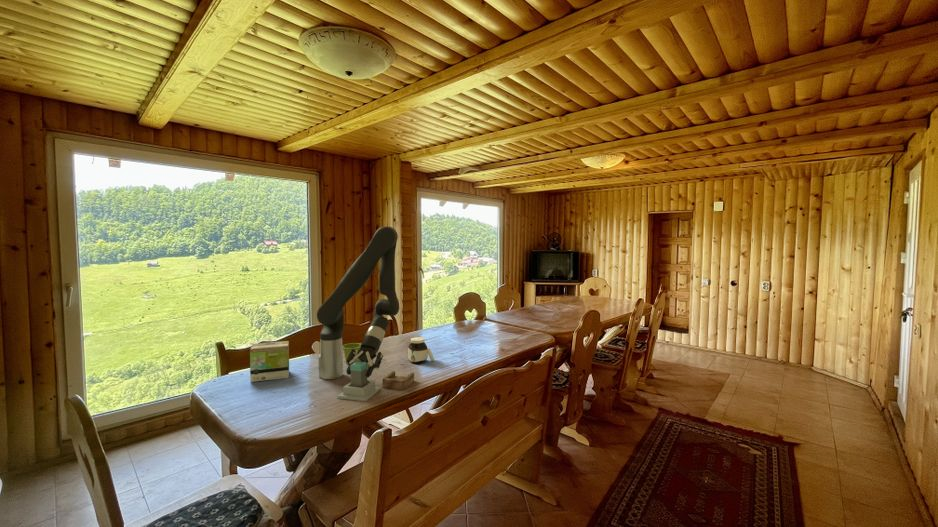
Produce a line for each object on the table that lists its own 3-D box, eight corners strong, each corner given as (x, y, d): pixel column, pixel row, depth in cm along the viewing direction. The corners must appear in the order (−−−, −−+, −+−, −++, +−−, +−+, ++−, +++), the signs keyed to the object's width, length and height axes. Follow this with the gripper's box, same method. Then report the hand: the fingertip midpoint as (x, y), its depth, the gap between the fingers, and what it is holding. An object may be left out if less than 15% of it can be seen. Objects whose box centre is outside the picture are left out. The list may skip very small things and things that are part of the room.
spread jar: (405, 361, 191) (405, 338, 190) (423, 356, 198) (423, 334, 198) (419, 366, 182) (419, 343, 181) (438, 361, 190) (438, 338, 189)
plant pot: (358, 365, 183) (358, 348, 183) (339, 365, 183) (339, 348, 183) (364, 359, 193) (364, 343, 192) (346, 359, 193) (345, 342, 192)
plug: (350, 392, 148) (350, 365, 147) (357, 388, 153) (357, 361, 152) (361, 394, 147) (360, 366, 146) (368, 389, 151) (367, 362, 151)
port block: (337, 398, 145) (337, 388, 145) (353, 386, 157) (353, 377, 157) (365, 401, 143) (365, 391, 142) (380, 389, 154) (380, 379, 154)
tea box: (250, 383, 161) (249, 349, 160) (252, 375, 170) (251, 343, 169) (289, 378, 167) (288, 345, 166) (289, 371, 176) (289, 339, 175)
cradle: (382, 387, 156) (382, 379, 156) (392, 378, 166) (392, 371, 166) (405, 389, 154) (405, 381, 154) (414, 380, 164) (414, 372, 163)
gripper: (354, 333, 158) (337, 368, 148) (384, 336, 154) (369, 372, 143) (362, 342, 163) (346, 377, 153) (391, 345, 159) (377, 381, 149)
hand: (357, 375), depth 148 cm, fingers open, 8 cm apart
